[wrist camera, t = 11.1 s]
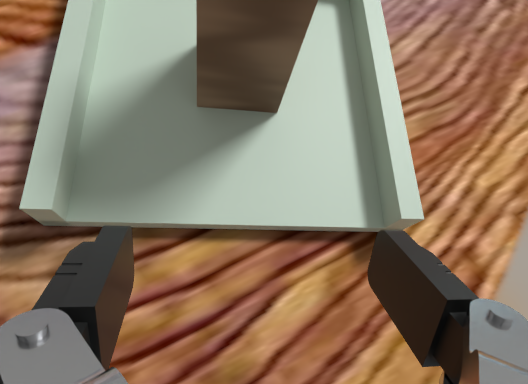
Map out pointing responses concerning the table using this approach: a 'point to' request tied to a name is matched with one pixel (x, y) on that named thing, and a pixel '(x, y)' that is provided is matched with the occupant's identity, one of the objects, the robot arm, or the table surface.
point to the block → (248, 51)
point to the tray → (219, 129)
